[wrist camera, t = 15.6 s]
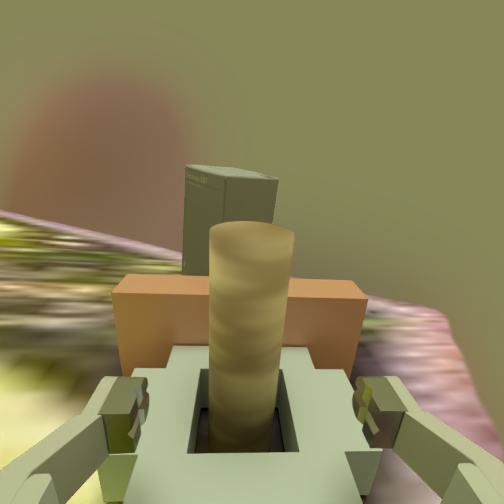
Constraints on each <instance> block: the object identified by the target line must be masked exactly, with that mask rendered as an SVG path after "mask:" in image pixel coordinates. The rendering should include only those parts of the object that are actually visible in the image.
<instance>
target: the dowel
mask: <svg viewBox="0 0 504 504" xmlns="http://www.w3.org/2000/svg"><path fill="white" fill-rule="evenodd" d="M294 237H295V235H294V233H293V232H292V231H291V230H289V229H287V228H285V227H282V226H279V225H275V224H270V223H264V222H255V221H234V222H225V223H221V224H217V225H215V226H213V227H211V228H210V231H209V435H208V444H209V450H210V453H269V450H270V444H271V435H272V427H273V418H274V409H275V401H276V392H277V384H278V375H279V366H280V358H281V349H282V340H283V332H284V323H285V315H286V306H287V297H288V289H289V280H290V271H291V263H292V254H293V245H294Z"/></svg>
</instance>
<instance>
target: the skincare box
mask: <svg viewBox="0 0 504 504" xmlns="http://www.w3.org/2000/svg"><path fill="white" fill-rule="evenodd" d="M277 187H278V178H276V177H271V176H267V175H263V174H259V173H257V172H252V171H246V170H242V169H237V168H230V167H216V166H204V165H186V166H185V198H184V228H183V253H182V275H183V276H209V231H210V228H211V227H213V226H215V225H217V224H221V223H225V222H234V221H255V222H264V223H270V224H272V221H273V214H274V207H275V201H276V194H277Z"/></svg>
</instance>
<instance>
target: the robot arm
mask: <svg viewBox="0 0 504 504" xmlns="http://www.w3.org/2000/svg"><path fill="white" fill-rule="evenodd" d="M355 385H356V387H357V390H356V391H355V392H354V393H353V397H352V407H353V411H354V414H355V416H356V419H357V420H358V421H359V422H360V423H362V424H363V428H362V432H363V434H364V436H365V439H366V441H367V443H368V445H369V447H370V448H386V449H393V451H394V452H395V453H396V454H397V455H398V456H399V457H400V458H401V459H402V460H403V461H404V462H405V463H406V464H407V465H408V466H409V467H410V468H411V469H412V470H413V471H414V472H415V473H416V474H417V475H418V476H419V477H420V478H421V479H422V480H423V481H424V482H425V483H426V484H427V485H428V486H429V487H430V488H431V489H432V490H433V491H434V492H436V493H437V494H438V495H439V496H440V497H441V498H442V501H441V503H440V504H504V464H503V463H502V462H501V461H500V460H498V459H497V458H495V457H494V456H492V455H491V454H489V453H488V452H486V451H485V450H483V449H482V448H480V447H479V446H478V445H476V444H475V443H473V442H472V441H470V440H469V439H467V438H466V437H464V436H463V435H461V434H460V433H458V432H457V431H455V430H454V429H452V428H451V427H449V426H448V425H446V424H445V423H443V422H442V421H440V420H439V419H437V418H436V417H434V416H433V415H431V414H430V413H428V412H423V411H422V410H421V408H420V407H419V405H418V404H417V403H416V401H415V400H414V399H413V397H412V396H411V394H410V393H409V392H408V390H407V389H406V387H405V386H404V385H403V383H402V382H401V381H400V379H399V378H398V377H396V376H383V377H382V376H367V377H358V378H357V379H356V383H355ZM147 387H148V380H147V378H146V377H124V376H119V377H111V376H105V377H104V378H103V379H102V380H101V381H100V383H99V384H98V386H97V388H96V390H95V391H94V393H93V395H92V396H91V398H90V400H89V401H88V403H87V405H86V407H85V408H84V410H83V412H82V413H81V415H76V416H74V417H73V418H72V419H70V420H69V421H67V422H66V423H65V424H63V425H62V426H61V427H59V428H58V429H56V430H55V431H54V432H52V433H51V434H50V435H48V436H47V437H45V438H44V439H43V440H41V441H40V442H39V443H37V444H36V445H34V446H33V447H32V448H30V449H29V450H28V451H26V452H25V453H23V454H22V455H21V456H19V457H18V458H17V459H15V460H14V461H12V462H11V463H10V464H8V465H7V466H6V467H4V468H3V469H1V470H0V504H65V503H66V502H67V501H68V500H69V499H70V498H71V497H72V496H73V495H74V494H75V493H76V491H77V490H78V489H79V488H80V487H81V486H82V485H83V484H84V483H85V482H86V481H87V479H88V478H89V477H90V476H91V475H92V474H93V473H94V472H95V471H96V470H97V469H98V467H99V466H100V465H101V464H102V463H103V462H104V461H105V460H106V459H107V458H108V457H109V454H125V453H135V451H136V448H137V445H138V442H139V439H140V436H141V426H142V425H143V424H144V423H145V421H146V418H147V415H148V410H149V400H150V399H149V393H148V392H146V390H147Z"/></svg>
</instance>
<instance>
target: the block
mask: <svg viewBox="0 0 504 504" xmlns="http://www.w3.org/2000/svg"><path fill="white" fill-rule="evenodd" d="M131 377H146V378H147V380H148V387H147V390H146V392H148V393H149V399H150V400H149V410H148V415H147V418H146V421H145V423H144V424H143V425H142V426H141V436H140V439H139V442H138V445H137V448H136V451H135V453H125V454H109V457H108V458H107V459H106V460H105V461H104V462H103V463H102V464H101V465H100V466H99V467H98V469H97V470H98V475H99V480H100V485H101V490H102V495H103V499H104V502H119V501H123V504H363V503H362V500H361V497H360V495H369V493H370V490H371V486H372V483H373V480H374V477H375V474H376V471H377V468H378V465H379V462H380V458H381V455H382V452H383V450H382V448H370V447H369V445H368V443H367V441H366V439H365V436H364V434H363V432H362V428H363V424H362V423H360V422H359V421H358V420H357V419H356V416H355V414H354V411H353V407H352V397H353V393H354V390H353V388H352V386H351V384H350V382H349V380H348V378H347V376H346V374H345V372H344V370H343V369H315V368H314V365H313V363H312V360H311V357H310V354H309V351H308V349H307V347H282V349H281V358H280V366H279V375H278V384H277V392H276V401H275V407H278V412H279V419H280V425H281V431H282V437H283V444H284V450H285V452H273V453H205V454H194V453H195V446H196V439H197V432H198V424H199V417H200V410H201V408H209V346H173V348H172V351H171V354H170V357H169V360H168V364H167V367H166V368H135V369H134V371H133V373H132V375H131Z"/></svg>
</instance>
